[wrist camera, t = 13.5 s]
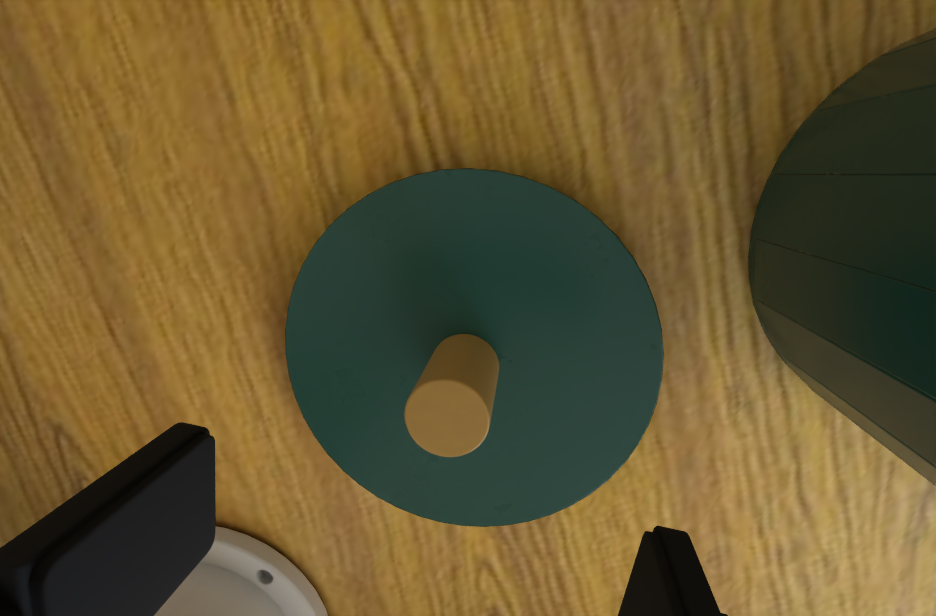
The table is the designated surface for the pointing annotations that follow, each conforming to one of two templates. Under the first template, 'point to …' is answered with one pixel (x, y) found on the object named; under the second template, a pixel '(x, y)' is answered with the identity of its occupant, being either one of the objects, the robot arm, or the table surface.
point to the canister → (860, 252)
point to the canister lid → (474, 347)
